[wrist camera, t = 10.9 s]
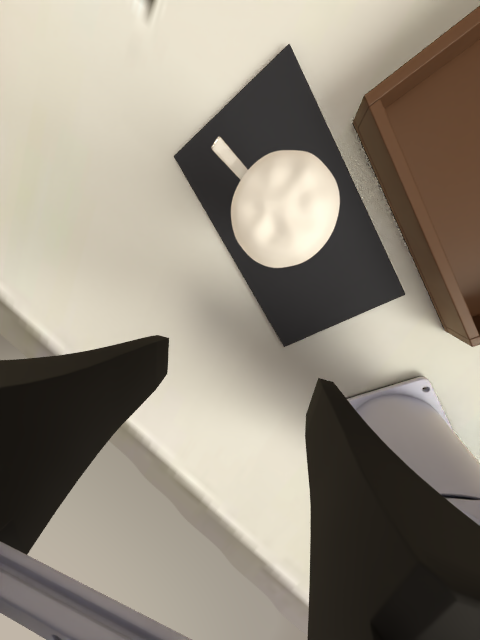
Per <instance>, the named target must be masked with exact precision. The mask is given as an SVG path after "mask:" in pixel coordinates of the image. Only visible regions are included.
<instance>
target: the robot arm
mask: <svg viewBox="0 0 480 640" xmlns="http://www.w3.org/2000/svg"><path fill="white" fill-rule="evenodd" d="M168 348H169V338H166V337H163V336H159V335H156V336H150V337H145V338H141V339H137V340H133V341H129V342H125V343H121V344H117V345H112V346H108V347H103V348H99V349H94V350H90V351H84V352H79V353H72V354H66V355H59V356H50V357H40V358H30V359H19V360H0V613H2V614H4V615H5V616H7V617H9V618H11V619H12V620H14V621H16V622H17V623H19V624H21V625H23V626H24V627H26V628H28V629H29V630H31V631H33V632H35V633H36V634H38V635H40V636H41V637H43V638H45V639H46V640H192V639H190V638H188V637H186V636H184V635H182V634H180V633H178V632H176V631H174V630H172V629H170V628H168V627H166V626H164V625H162V624H160V623H158V622H157V621H154V620H153V619H151V618H149V617H147V616H145V615H143V614H141V613H139V612H137V611H135V610H133V609H131V608H129V607H127V606H125V605H123V604H121V603H119V602H118V601H116V600H114V599H112V598H110V597H108V596H106V595H104V594H102V593H100V592H98V591H96V590H94V589H92V588H90V587H88V586H86V585H84V584H82V583H80V582H78V581H76V580H75V579H73V578H71V577H68V576H67V575H65V574H63V573H61V572H59V571H57V570H55V569H53V568H51V567H49V566H47V565H45V564H43V563H41V562H39V561H37V560H36V559H33V558H32V557H30V556H28V555H27V554H28V553H29V551H30V549H31V548H32V546H33V545H34V543H35V542H36V540H37V539H38V537H39V536H40V534H41V533H42V531H43V530H44V528H45V527H46V525H47V524H48V522H49V521H50V519H51V518H52V516H53V515H54V513H55V512H56V510H57V509H58V507H59V506H60V504H61V503H62V502H63V500H64V499H65V498H66V496H67V495H68V493H69V492H70V491H71V489H72V488H73V486H74V485H75V483H76V482H77V481H78V479H79V478H80V477H81V475H82V474H83V473H84V471H85V470H86V469H87V467H88V466H89V465H90V463H91V462H92V461H93V459H94V458H95V457H96V455H97V454H98V453H99V452H100V450H101V449H102V448H103V447H104V445H105V444H106V443H107V442H108V440H109V439H110V438H111V437H112V435H113V434H114V433H115V432H116V431H117V430H118V429H119V427H120V426H121V425H122V424H123V423H124V422H125V421H126V420H127V419H128V418H129V417H130V416H131V415H132V414H133V413H134V412H135V411H136V410H137V409H138V408H139V407H140V406H141V404H142V403H143V402H144V401H145V400H146V399H147V398H148V397H149V396H150V395H151V394H152V393H153V392H154V391H155V390H156V388H157V387H158V386H159V384H160V383H161V382H162V380H163V379H164V377H165V376H166V374H167V369H168ZM423 387H427V388H426V389H422V388H423ZM305 439H306V452H307V463H308V475H309V486H310V502H311V544H310V589H309V621H308V640H480V463H479V462H478V460H477V459H476V458H475V457H474V456H473V454H472V453H471V452H470V451H469V450H468V448H467V447H466V446H465V445H464V444H463V442H462V441H461V440H460V439H459V437H458V436H457V435H456V434H455V433H454V431H453V429H452V427H451V424H450V422H449V420H448V418H447V416H446V414H445V412H444V410H443V408H442V405H441V403H440V401H439V399H438V397H437V395H436V393H435V391H434V389H433V387H432V384H431V382H430V381H429V380H428V379H427V378H426V377H417V378H414V379H411V380H408V381H404V382H401V383H398V384H394V385H391V386H388V387H385V388H381V389H378V390H375V391H371V392H368V393H365V394H361V395H358V396H355V397H352V398H348V399H346V397H345V396H344V395H343V394H342V392H341V391H340V390H339V389H338V387H337V386H336V385H335V384H334V383H333V382H331V381H327V380H324V379H320V378H318V381H317V384H316V387H315V390H314V393H313V396H312V399H311V402H310V405H309V408H308V411H307V414H306V430H305Z"/></svg>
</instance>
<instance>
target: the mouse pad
mask: <svg viewBox="0 0 480 640" xmlns="http://www.w3.org/2000/svg"><path fill="white" fill-rule="evenodd" d="M218 136H220V137H221V138H222V139H223V140H224V142H225V143H226V144H227V145H228V146H229V148H230V149H231V150H232V151H233V152H234V154H235V155H236V156H237V157H238V158H239V160H240V161H241V162H242V163H243V164H244V166H245V167H246V168H247V169H248V170H249V169H250V167H251V166H252V165H253V164H255V163H256V162H257V161H258V160H259V159H261V158H262V157H264V156H265V155H267V154H269V153H272V152H275V151H281V150H297V151H305V152H309V153H311V154H313V155H315V156H316V157H317V158H318V159H320V160H321V161H322V162H323V164H324V165H325V166H326V167H327V168H328V169H329V171H330V172H331V173H332V175H333V177H334V178H335V180H336V183H337V186H338V190H339V196H340V206H339V213H338V218H337V221H336V225H335V227H334V230H333V232H332V234H331V236H330V237H329V239H328V241H327V242H326V243H325V245H324V246H323V247H322V248H321V249H320V250H319V251H318V252H317V253H316V254H315V255H314V256H312V257H311V258H310V259H308V260H307V261H305V262H303V263H300V264H297V265H294V266H289V267H283V268H272V267H267V266H264V265H262V264H260V263H258V262H256V261H255V260H253V259H252V258H251V257H250V256H249V255H248V254H247V253H246V252H245V251H244V250H243V249H242V247H241V246H240V245H239V243H238V241H237V239H236V237H235V235H234V231H233V227H232V221H231V204H232V199H233V196H234V193H235V190H236V188H237V186H238V184H239V182H240V181H241V180H240V179H239V178H238V177H237V176H236V174H235V173H234V172H233V171H232V170H231V169H230V168H229V167H228V166H227V165H226V164H225V163H224V162H223V161H222V160H221V159H220V158H219V156H218V155H217V154H216V153H215V152H214V151H213V150H212V148H211V147H212V145H213V143H214V142H215V140H216V139H217V137H218ZM174 158H175V159H176V161H177V163H178V164H179V166H180V168H181V170H182V171H183V173H184V175H185V177H186V178H187V180H188V182H189V183H190V185H191V187H192V189H193V190H194V192H195V194H196V196H197V197H198V199H199V201H200V202H201V204H202V206H203V208H204V209H205V211H206V213H207V214H208V216H209V218H210V220H211V221H212V223H213V225H214V227H215V228H216V230H217V232H218V233H219V235H220V237H221V239H222V240H223V242H224V244H225V246H226V247H227V249H228V251H229V252H230V254H231V256H232V258H233V259H234V261H235V263H236V264H237V266H238V268H239V270H240V271H241V273H242V275H243V277H244V278H245V280H246V282H247V283H248V285H249V287H250V289H251V290H252V292H253V294H254V296H255V297H256V299H257V301H258V302H259V304H260V306H261V308H262V309H263V311H264V313H265V314H266V316H267V318H268V320H269V321H270V323H271V325H272V327H273V328H274V330H275V332H276V333H277V335H278V337H279V339H280V340H281V342H282V344H283V346H284V347H285V346H287V345H290V344H292V343H294V342H297V341H299V340H301V339H304V338H306V337H308V336H311V335H313V334H315V333H317V332H320V331H322V330H324V329H327V328H329V327H331V326H334V325H336V324H338V323H341V322H343V321H345V320H347V319H350V318H352V317H354V316H357V315H359V314H361V313H364V312H366V311H368V310H371V309H373V308H375V307H377V306H380V305H382V304H384V303H387V302H389V301H391V300H394V299H396V298H398V297H401V296H403V295H405V292H404V290H403V288H402V286H401V284H400V282H399V280H398V277H397V275H396V273H395V271H394V269H393V267H392V264H391V262H390V260H389V258H388V256H387V254H386V251H385V249H384V247H383V245H382V243H381V241H380V238H379V236H378V234H377V232H376V230H375V228H374V226H373V223H372V221H371V219H370V217H369V215H368V213H367V210H366V208H365V206H364V204H363V202H362V200H361V197H360V195H359V193H358V191H357V189H356V187H355V184H354V182H353V180H352V178H351V176H350V174H349V171H348V169H347V167H346V165H345V163H344V161H343V159H342V156H341V154H340V152H339V150H338V148H337V146H336V143H335V141H334V139H333V137H332V135H331V133H330V130H329V128H328V126H327V124H326V122H325V120H324V117H323V115H322V113H321V111H320V109H319V107H318V104H317V102H316V100H315V98H314V96H313V94H312V92H311V89H310V87H309V85H308V83H307V81H306V79H305V76H304V74H303V72H302V70H301V68H300V66H299V63H298V61H297V59H296V57H295V55H294V53H293V50H292V48H291V46H290V44H288V45H287V46H286V47H285V48H284V49H283V50H282V51H281V52H280V53H279V54H278V55H277V56H276V57H275V58H274V59H273V60H272V61H271V62H270V63H269V64H268V65H267V66H266V67H265V68H264V69H263V70H262V71H261V72H260V73H259V74H258V75H257V76H256V77H255V78H254V79H252V80H251V81H250V82H249V83H248V84H247V85H246V86H245V87H244V88H243V89H242V90H241V91H240V92H239V93H238V94H237V95H236V96H235V97H234V98H233V99H232V100H231V101H230V102H229V103H228V104H227V105H226V106H225V107H224V108H223V109H222V110H221V111H220V112H219V113H218V114H217V115H216V116H215V117H214V118H213V119H212V120H210V121H209V122H208V123H207V124H206V125H205V126H204V127H203V128H202V129H201V130H200V131H199V132H198V133H197V134H196V135H195V136H194V137H193V138H192V139H191V140H190V141H189V142H188V143H187V144H186V145H185V146H184V147H183V148H182V149H181V150H180V151H179V152H178V153H177V154H176V155H175V156H174Z"/></svg>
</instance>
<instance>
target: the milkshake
mask: <svg viewBox="0 0 480 640" xmlns="http://www.w3.org/2000/svg"><path fill="white" fill-rule="evenodd" d="M211 148H212V150H213V151H214V152H215V153H216V154H217V155H218V156H219V158H220V159H221V160H222V161H223V162H224V163H225V164H226V165H227V166H228V167H229V168H230V169H231V170H232V171H233V172H234V173H235V174H236V176H237V177H238V178H239V179H240V180H241V181H240V182H239V184H238V186H237V188H236V190H235V193H234V196H233V199H232V204H231V221H232V227H233V231H234V235H235V237H236V239H237V241H238V243H239V245H240V246H241V247H242V249H243V250H244V251H245V252H246V253H247V254H248V255H249V256H250V257H251V258H252V259H253V260H255V261H256V262H258V263H260V264H262V265H264V266H267V267H272V268H283V267H289V266H294V265H297V264H300V263H303V262H305V261H307V260H308V259H310V258H311V257H312V256H314V255H315V254H316V253H317V252H318V251H319V250H320V249H321V248H322V247H323V246H324V245H325V243H326V242H327V241H328V239H329V237H330V236H331V234H332V232H333V230H334V227H335V225H336V221H337V218H338V213H339V206H340V196H339V190H338V186H337V183H336V180H335V178H334V177H333V175H332V173H331V172H330V171H329V169H328V168H327V167H326V166H325V165H324V164H323V162H322V161H321V160H320V159H318V158H317V157H316V156H315V155H313V154H311V153H309V152H305V151H297V150H281V151H275V152H272V153H269V154H267V155H265V156H264V157H262V158H261V159H259V160H258V161H257V162H256V163H255V164H253V165H252V166H251V167H250V169H249V170H248V169H247V168H246V167H245V166H244V164H243V163H242V162H241V161H240V160H239V158H238V157H237V156H236V155H235V154H234V152H233V151H232V150H231V149H230V148H229V146H228V145H227V144H226V143H225V142H224V140H223V139H222V138H221V137H220V136H218V137H217V139H216V140H215V142H214V143H213V145H212V147H211Z"/></svg>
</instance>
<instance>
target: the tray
mask: <svg viewBox="0 0 480 640" xmlns="http://www.w3.org/2000/svg"><path fill="white" fill-rule="evenodd" d="M353 125H354V127H355V129H356V131H357V134H358V136H359V138H360V140H361V143H362V145H363V147H364V149H365V152H366V154H367V156H368V158H369V161H370V163H371V165H372V167H373V170H374V172H375V174H376V176H377V179H378V181H379V183H380V185H381V188H382V190H383V192H384V194H385V197H386V199H387V201H388V203H389V206H390V208H391V210H392V212H393V215H394V217H395V219H396V221H397V224H398V226H399V228H400V230H401V233H402V235H403V237H404V239H405V242H406V244H407V246H408V248H409V251H410V253H411V255H412V257H413V260H414V262H415V264H416V266H417V269H418V271H419V273H420V275H421V278H422V280H423V282H424V284H425V287H426V289H427V291H428V293H429V296H430V298H431V300H432V302H433V305H434V307H435V309H436V311H437V314H438V316H439V318H440V320H441V323H442V325H443V327H444V329H445V331H446V332H448V333H450V334H451V335H453V336H455V337H456V338H458V339H460V340H461V341H463V342H465V343H466V344H468V345H470V346H472V347H474V346H477V345H480V6H479V7H477V8H476V9H475V10H474V11H472V12H471V13H470V14H468V15H467V16H466V17H465V18H463V19H462V20H461V21H459V22H458V23H457V24H456V25H454V26H453V27H452V28H450V29H449V30H448V31H447V32H445V33H444V34H443V35H441V36H440V37H439V38H438V39H436V40H435V41H434V42H432V43H431V44H430V45H429V46H427V47H426V48H425V49H423V50H422V51H421V52H420V53H418V54H417V55H416V56H414V57H413V58H412V59H411V60H409V61H408V62H407V63H405V64H404V65H403V66H402V67H400V68H399V69H398V70H396V71H395V72H394V73H393V74H391V75H390V76H389V77H387V78H386V79H385V80H384V81H382V82H381V83H380V84H378V85H377V86H376V87H375V88H373V89H372V90H371V91H369V92H368V93H367V94H366V95H365V96H364V98H363V100H362V102H361V105H360V107H359V109H358V111H357V114H356V116H355V118H354V121H353Z"/></svg>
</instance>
